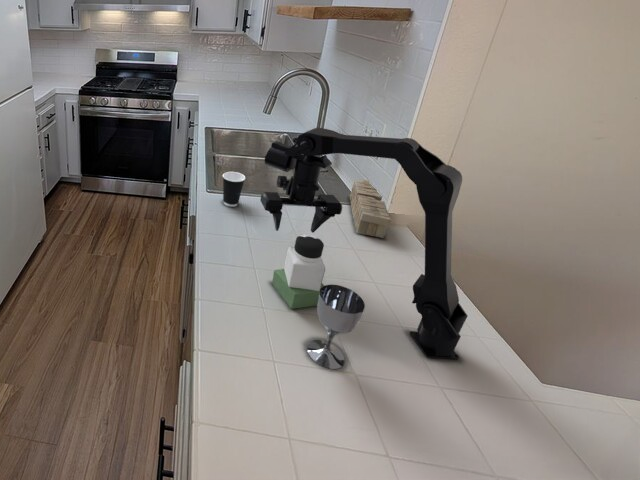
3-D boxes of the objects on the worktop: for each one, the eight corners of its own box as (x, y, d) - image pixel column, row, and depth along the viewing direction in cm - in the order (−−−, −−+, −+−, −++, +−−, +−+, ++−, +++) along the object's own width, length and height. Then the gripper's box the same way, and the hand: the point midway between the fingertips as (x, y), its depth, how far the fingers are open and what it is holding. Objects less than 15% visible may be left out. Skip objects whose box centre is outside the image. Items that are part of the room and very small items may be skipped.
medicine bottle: (320, 292, 91) (330, 250, 87) (288, 287, 93) (297, 246, 88) (312, 272, 98) (322, 232, 93) (283, 268, 99) (291, 229, 94)
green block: (324, 304, 94) (328, 289, 92) (291, 308, 92) (294, 294, 90) (302, 279, 102) (305, 266, 100) (271, 283, 100) (274, 269, 99)
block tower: (348, 198, 146) (355, 235, 121) (353, 178, 143) (362, 211, 118) (372, 202, 143) (384, 241, 118) (378, 182, 140) (391, 217, 115)
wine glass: (323, 374, 76) (340, 317, 70) (296, 342, 83) (310, 288, 77) (355, 365, 78) (375, 309, 72) (327, 335, 85) (342, 281, 79)
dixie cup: (243, 209, 136) (247, 181, 132) (220, 208, 137) (224, 180, 132) (239, 198, 143) (243, 172, 139) (218, 197, 144) (221, 171, 140)
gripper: (330, 166, 102) (318, 216, 109) (259, 163, 104) (251, 213, 110) (349, 185, 92) (335, 239, 98) (270, 181, 93) (261, 235, 99)
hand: (294, 230), depth 102 cm, fingers open, 9 cm apart
